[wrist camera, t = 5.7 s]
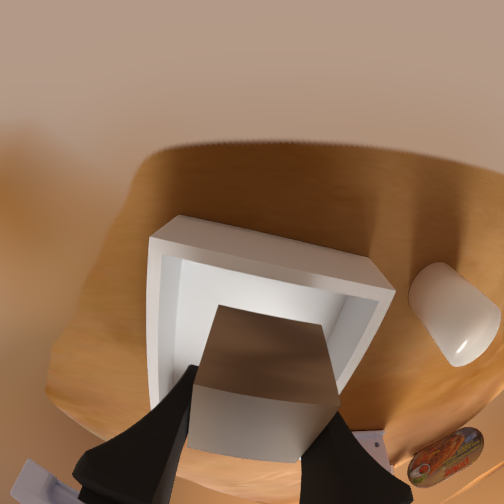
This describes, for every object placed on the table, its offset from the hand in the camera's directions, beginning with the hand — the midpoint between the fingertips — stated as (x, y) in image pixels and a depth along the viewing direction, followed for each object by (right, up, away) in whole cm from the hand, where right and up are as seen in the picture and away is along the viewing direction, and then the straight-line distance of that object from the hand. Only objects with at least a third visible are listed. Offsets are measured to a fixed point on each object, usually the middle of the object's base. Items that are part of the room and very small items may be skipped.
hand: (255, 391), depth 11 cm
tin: (+34, -28, +18) cm, 47 cm away
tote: (0, 0, +10) cm, 10 cm away
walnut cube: (0, +1, +2) cm, 2 cm away
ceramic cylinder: (+15, +3, +7) cm, 17 cm away
